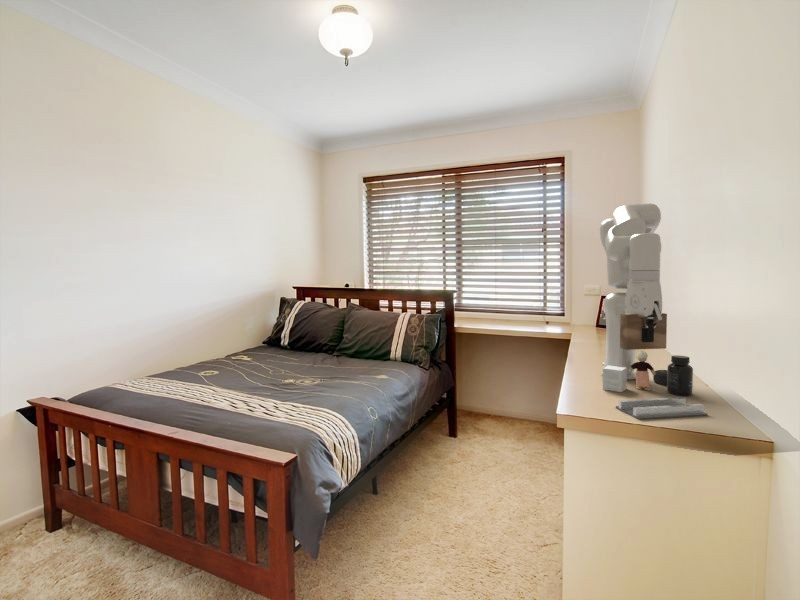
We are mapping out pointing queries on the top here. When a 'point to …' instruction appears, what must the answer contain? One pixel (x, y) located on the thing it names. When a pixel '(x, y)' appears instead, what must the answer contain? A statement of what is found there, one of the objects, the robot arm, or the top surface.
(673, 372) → the supplement bottle
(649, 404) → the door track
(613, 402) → the top surface
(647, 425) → the top surface
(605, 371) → the product box
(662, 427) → the top surface
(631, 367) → the grandmother figurine
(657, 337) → the walnut door panel
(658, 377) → the smart speaker
